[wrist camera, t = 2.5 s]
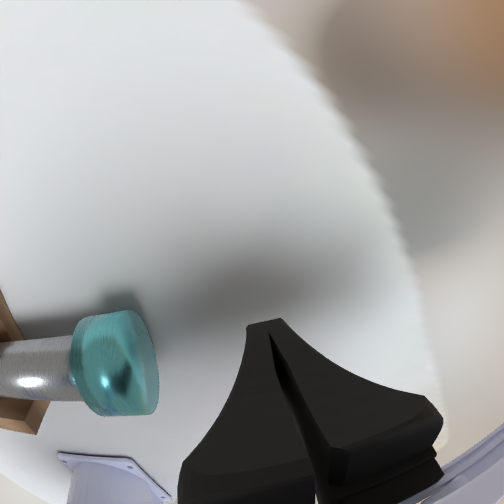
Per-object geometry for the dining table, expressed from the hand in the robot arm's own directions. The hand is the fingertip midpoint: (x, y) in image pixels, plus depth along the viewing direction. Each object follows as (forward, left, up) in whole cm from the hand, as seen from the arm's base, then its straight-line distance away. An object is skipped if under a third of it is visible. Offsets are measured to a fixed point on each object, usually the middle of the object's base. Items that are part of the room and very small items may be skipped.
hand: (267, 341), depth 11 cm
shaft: (0, +12, -2) cm, 13 cm away
